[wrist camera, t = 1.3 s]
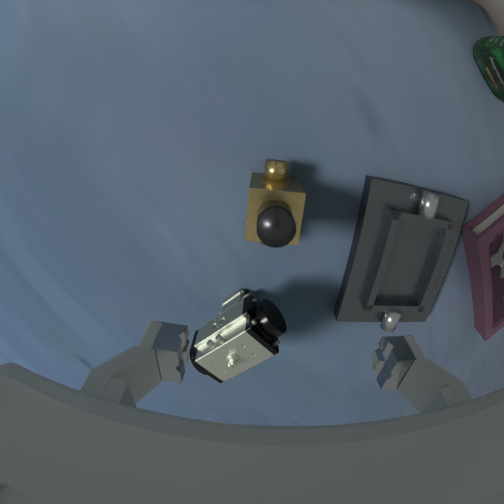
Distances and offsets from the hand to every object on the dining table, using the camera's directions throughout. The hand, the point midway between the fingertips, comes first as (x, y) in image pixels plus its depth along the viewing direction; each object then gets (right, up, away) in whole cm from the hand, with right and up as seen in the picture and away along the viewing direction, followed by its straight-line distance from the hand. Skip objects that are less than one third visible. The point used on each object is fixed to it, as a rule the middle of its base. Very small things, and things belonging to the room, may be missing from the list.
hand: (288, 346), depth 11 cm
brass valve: (+1, +10, +21) cm, 24 cm away
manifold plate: (+19, +3, +24) cm, 31 cm away
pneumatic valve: (-3, -3, +28) cm, 28 cm away
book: (+43, +2, +25) cm, 50 cm away
